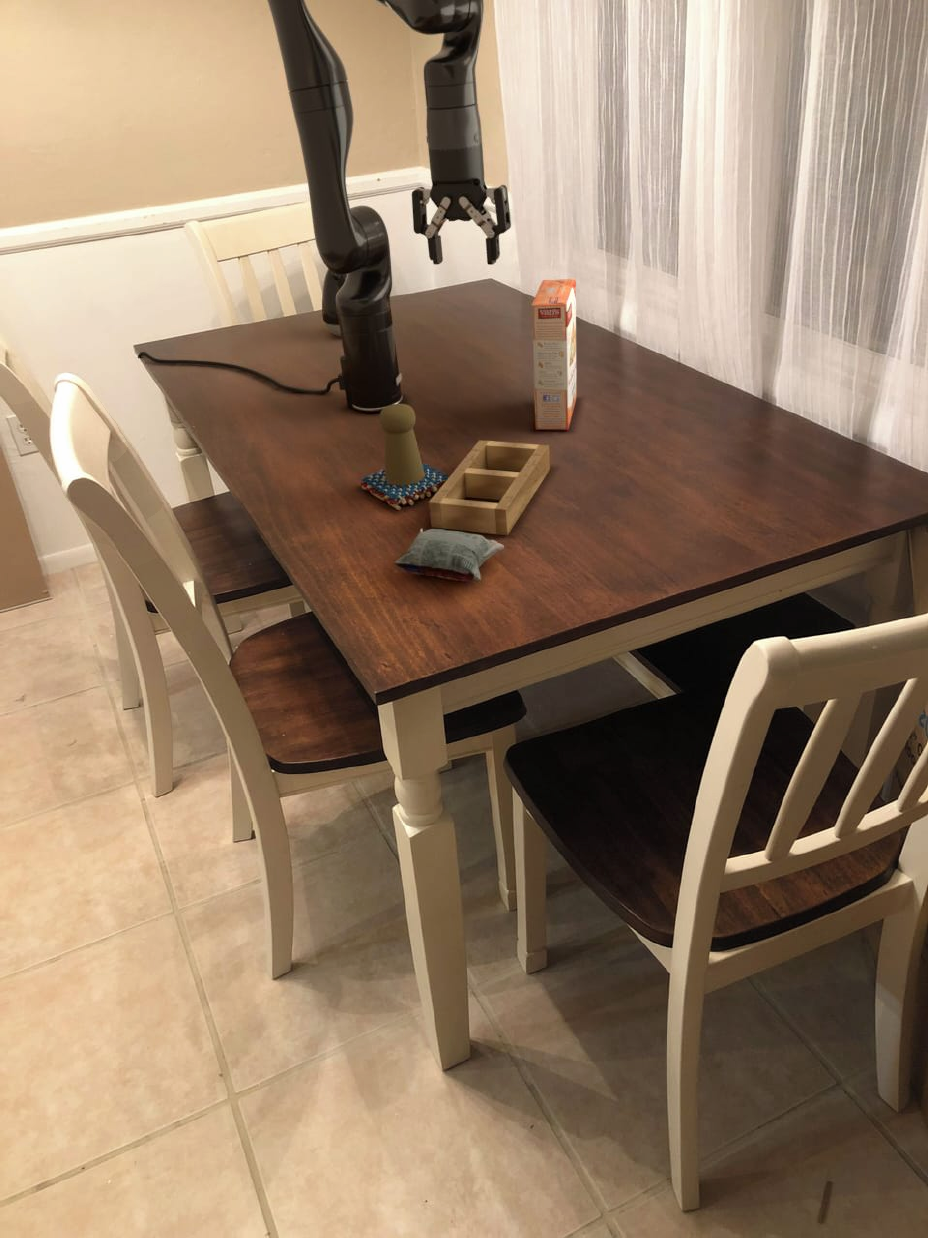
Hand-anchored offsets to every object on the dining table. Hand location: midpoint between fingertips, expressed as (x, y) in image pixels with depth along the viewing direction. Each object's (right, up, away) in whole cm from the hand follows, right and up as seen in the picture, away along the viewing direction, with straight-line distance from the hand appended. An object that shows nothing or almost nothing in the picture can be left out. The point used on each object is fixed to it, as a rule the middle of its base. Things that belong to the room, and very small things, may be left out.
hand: (464, 263), depth 141 cm
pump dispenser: (-25, +10, +69) cm, 74 cm away
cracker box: (+16, -18, +22) cm, 32 cm away
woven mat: (-9, -33, +3) cm, 34 cm away
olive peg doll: (-9, -31, +2) cm, 33 cm away
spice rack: (+4, -35, -2) cm, 35 cm away
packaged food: (-2, -46, -17) cm, 49 cm away
